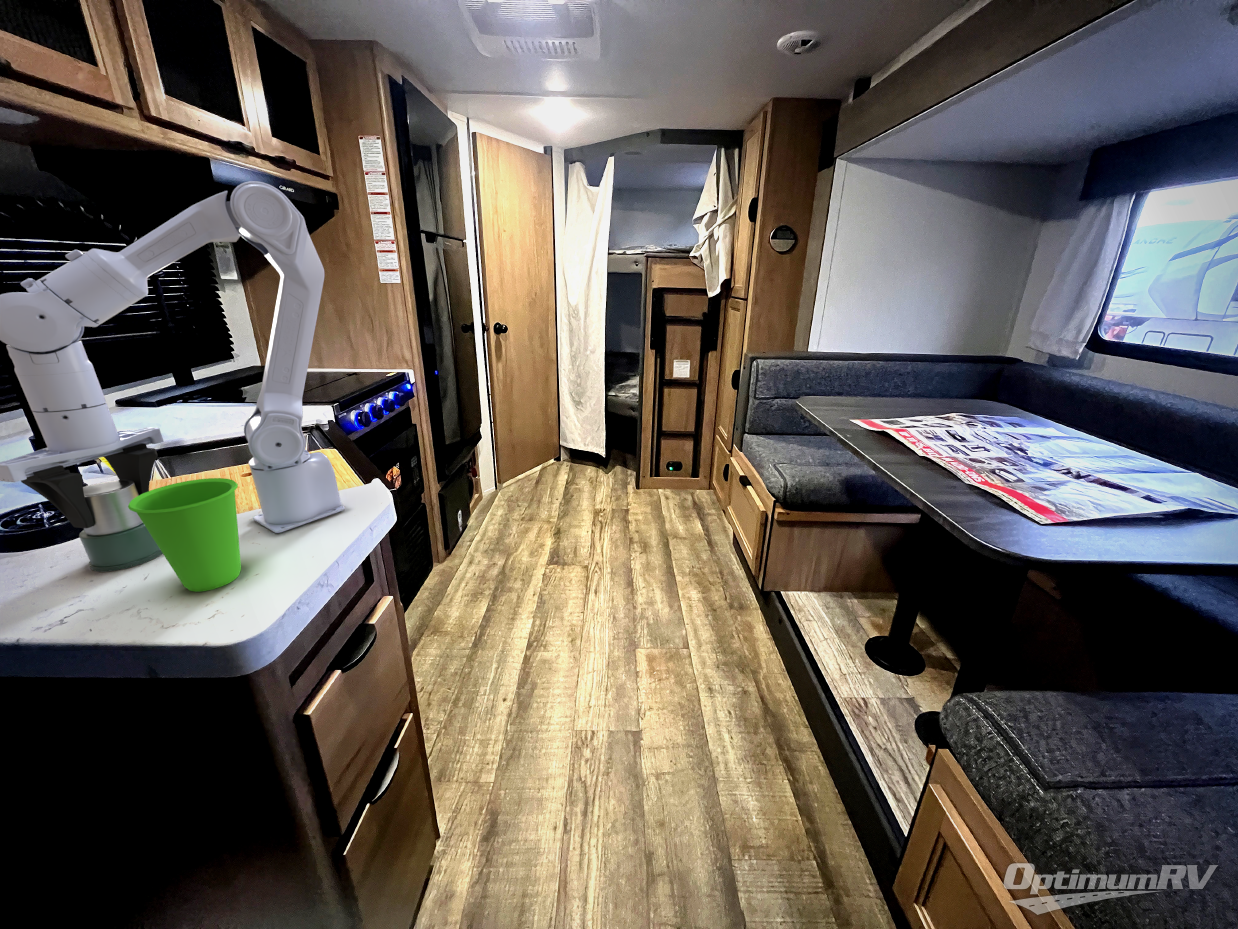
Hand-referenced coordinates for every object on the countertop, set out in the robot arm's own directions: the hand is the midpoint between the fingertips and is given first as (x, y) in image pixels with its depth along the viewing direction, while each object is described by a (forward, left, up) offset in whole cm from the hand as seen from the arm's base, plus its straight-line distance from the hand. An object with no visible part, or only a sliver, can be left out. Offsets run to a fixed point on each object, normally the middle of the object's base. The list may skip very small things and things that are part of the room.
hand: (113, 515), depth 58 cm
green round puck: (0, 0, -6) cm, 6 cm away
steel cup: (0, 0, -1) cm, 1 cm away
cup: (-4, +15, -6) cm, 17 cm away
